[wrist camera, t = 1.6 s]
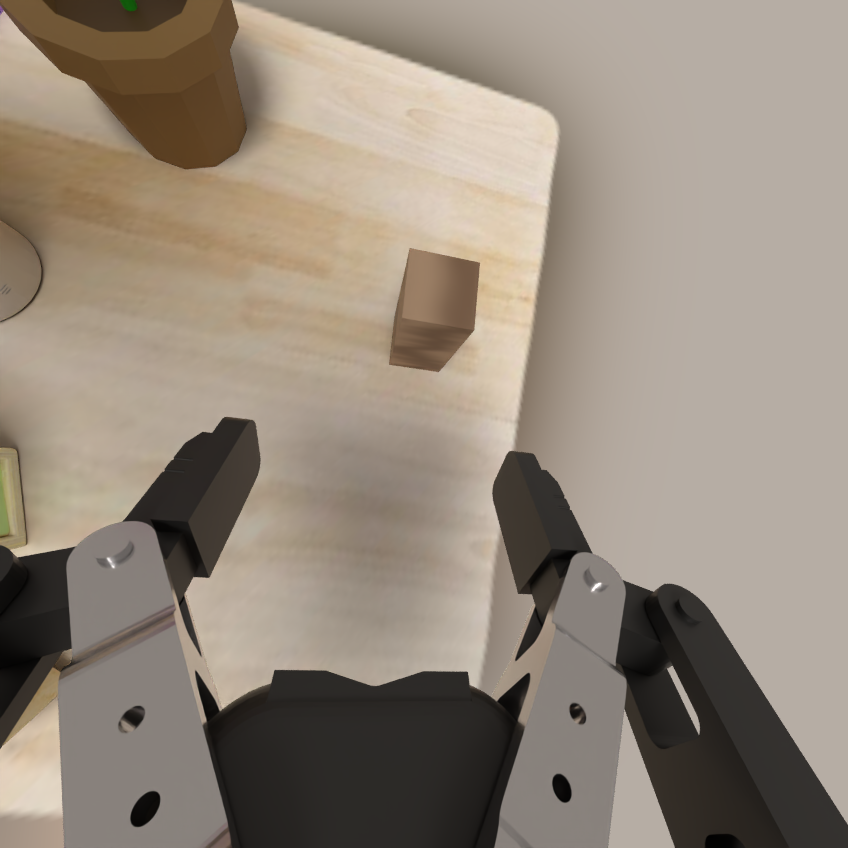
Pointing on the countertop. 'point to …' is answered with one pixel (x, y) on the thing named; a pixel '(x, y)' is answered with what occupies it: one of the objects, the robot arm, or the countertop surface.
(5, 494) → the toy refrigerator
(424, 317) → the walnut block
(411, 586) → the countertop surface
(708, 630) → the robot arm
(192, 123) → the flowerpot
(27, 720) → the food model
